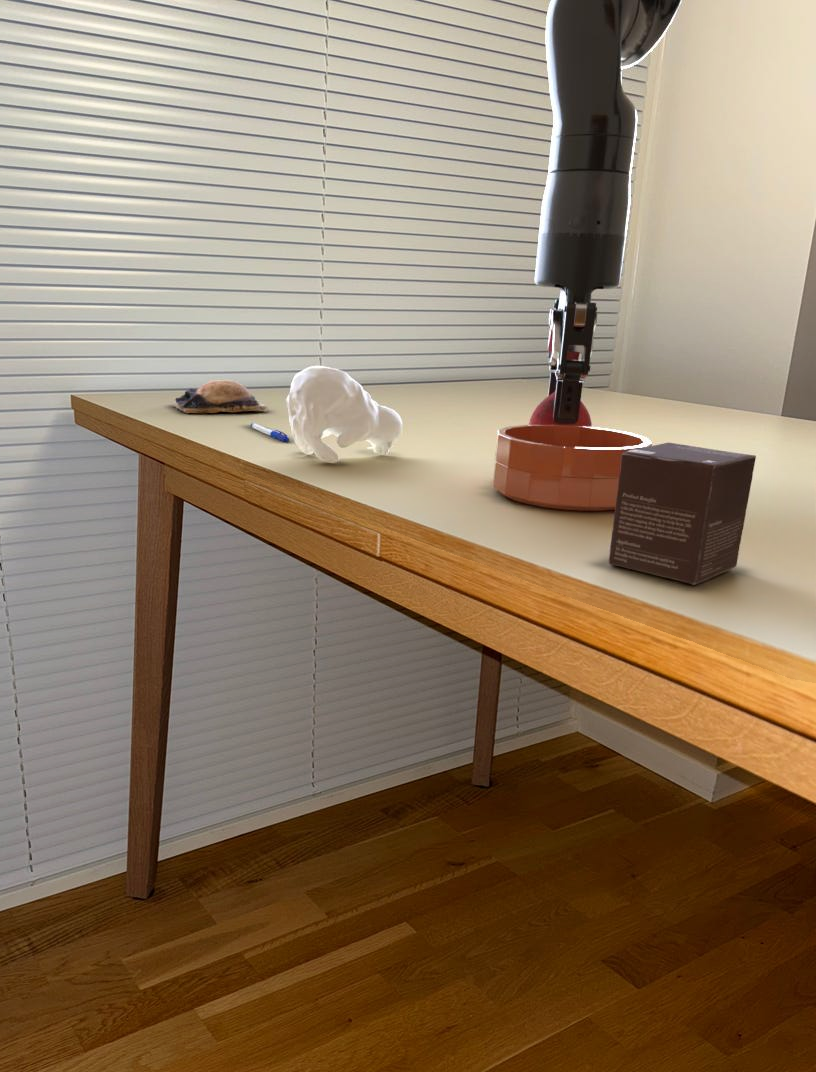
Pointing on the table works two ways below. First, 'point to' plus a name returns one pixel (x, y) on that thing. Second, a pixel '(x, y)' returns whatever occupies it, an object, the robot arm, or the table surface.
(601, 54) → the robot arm
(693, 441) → the table surface
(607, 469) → the bowl
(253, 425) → the ballpoint pen
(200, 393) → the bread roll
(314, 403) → the white animal figurine
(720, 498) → the box
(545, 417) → the onion
